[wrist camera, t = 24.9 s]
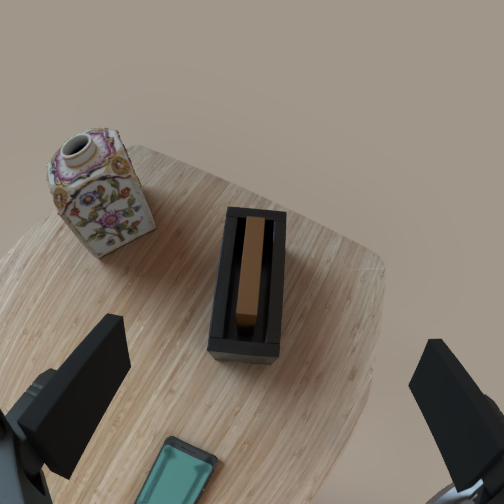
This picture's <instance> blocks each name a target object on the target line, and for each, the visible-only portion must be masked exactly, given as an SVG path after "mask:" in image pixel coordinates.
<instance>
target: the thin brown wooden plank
mask: <svg viewBox="0 0 504 504" xmlns="http://www.w3.org/2000/svg"><path fill="white" fill-rule="evenodd" d="M264 225H265V218H262V217H251V216H247V221H246V229H245V238H244V247H243V256H242V265H241V274H240V283H239V292H238V301H237V310H236V317H237V331H238V335H239V336H250V337H253V334H254V329H255V324H256V318H257V311H258V299H259V287H260V275H261V263H262V250H263V238H264Z"/></svg>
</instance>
